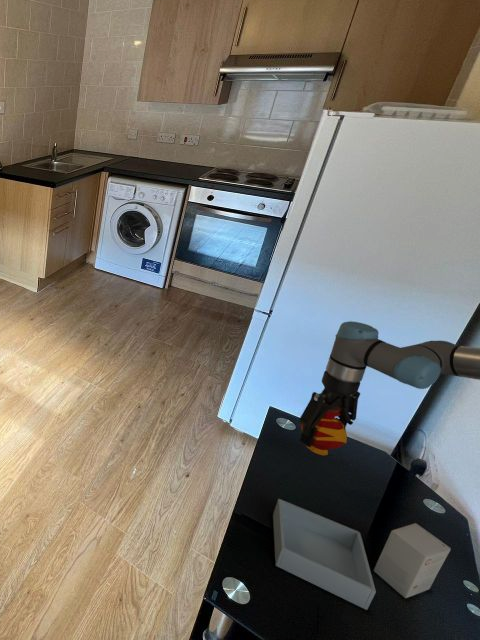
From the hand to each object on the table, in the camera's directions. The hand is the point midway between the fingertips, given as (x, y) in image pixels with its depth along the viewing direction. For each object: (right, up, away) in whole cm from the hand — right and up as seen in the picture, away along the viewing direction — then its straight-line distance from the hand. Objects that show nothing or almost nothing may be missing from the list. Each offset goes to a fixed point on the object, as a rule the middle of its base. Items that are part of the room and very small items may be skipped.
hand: (319, 441), depth 118 cm
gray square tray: (-19, -19, -20) cm, 33 cm away
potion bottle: (0, -3, +1) cm, 3 cm away
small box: (-3, -21, -24) cm, 32 cm away
